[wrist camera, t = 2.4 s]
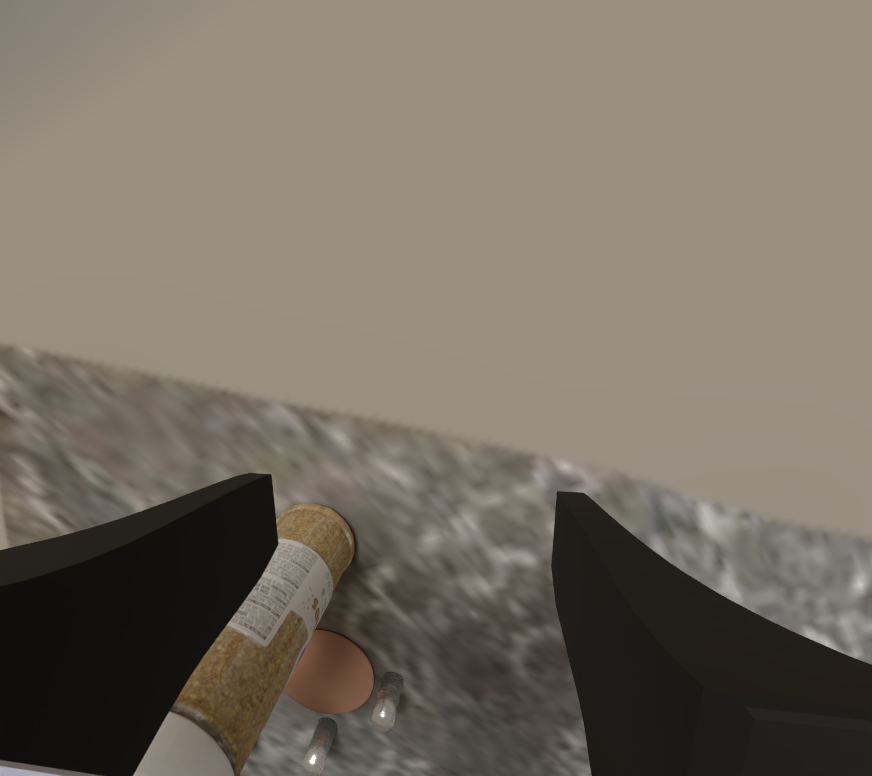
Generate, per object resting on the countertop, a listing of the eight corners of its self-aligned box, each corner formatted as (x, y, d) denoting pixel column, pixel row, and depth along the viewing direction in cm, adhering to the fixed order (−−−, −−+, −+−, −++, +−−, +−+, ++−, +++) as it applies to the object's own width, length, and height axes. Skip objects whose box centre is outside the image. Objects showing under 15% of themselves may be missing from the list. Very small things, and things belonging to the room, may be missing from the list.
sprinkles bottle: (343, 585, 25) (175, 934, 12) (266, 554, 25) (17, 865, 12) (368, 517, 23) (211, 827, 10) (287, 485, 23) (32, 750, 11)
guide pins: (402, 673, 26) (393, 715, 23) (403, 744, 27) (394, 790, 25) (247, 654, 27) (223, 692, 24) (255, 722, 28) (233, 765, 26)
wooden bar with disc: (372, 598, 25) (361, 626, 23) (375, 750, 27) (366, 786, 26) (190, 578, 26) (166, 603, 24) (212, 726, 29) (191, 759, 27)
